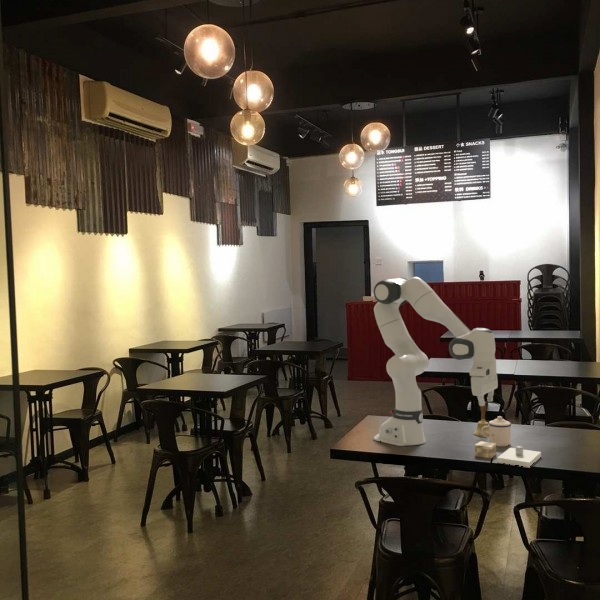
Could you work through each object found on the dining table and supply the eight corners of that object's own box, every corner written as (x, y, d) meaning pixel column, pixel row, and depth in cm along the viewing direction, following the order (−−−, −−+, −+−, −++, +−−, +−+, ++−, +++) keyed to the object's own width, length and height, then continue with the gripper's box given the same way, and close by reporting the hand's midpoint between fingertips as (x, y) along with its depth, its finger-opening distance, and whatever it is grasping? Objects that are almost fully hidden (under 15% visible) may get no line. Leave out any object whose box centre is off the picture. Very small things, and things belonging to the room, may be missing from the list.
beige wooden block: (474, 456, 248) (474, 444, 248) (480, 452, 254) (480, 441, 253) (490, 458, 245) (490, 447, 244) (496, 454, 250) (496, 443, 250)
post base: (497, 462, 239) (497, 449, 239) (510, 452, 252) (510, 440, 252) (529, 467, 232) (529, 454, 232) (541, 457, 245) (541, 444, 245)
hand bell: (492, 432, 284) (491, 397, 284) (493, 437, 276) (492, 401, 276) (473, 431, 286) (472, 397, 286) (473, 436, 278) (473, 400, 278)
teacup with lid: (511, 441, 268) (511, 414, 267) (510, 447, 259) (510, 419, 259) (482, 439, 272) (482, 413, 272) (480, 445, 264) (480, 417, 263)
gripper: (485, 365, 258) (487, 398, 258) (467, 372, 242) (469, 407, 242) (501, 365, 254) (502, 399, 255) (483, 372, 238) (485, 408, 238)
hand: (486, 403), depth 248 cm, fingers open, 8 cm apart
